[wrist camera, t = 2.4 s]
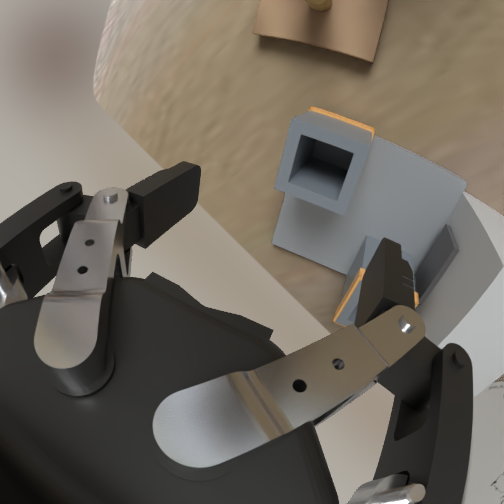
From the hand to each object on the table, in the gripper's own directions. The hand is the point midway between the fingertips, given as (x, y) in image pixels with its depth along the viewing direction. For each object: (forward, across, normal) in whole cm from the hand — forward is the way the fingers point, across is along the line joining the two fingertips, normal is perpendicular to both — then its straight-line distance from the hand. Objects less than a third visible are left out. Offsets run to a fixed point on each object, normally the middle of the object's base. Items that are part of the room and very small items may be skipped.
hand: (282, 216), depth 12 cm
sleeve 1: (+14, 0, 0) cm, 14 cm away
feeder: (+15, -9, +5) cm, 18 cm away
